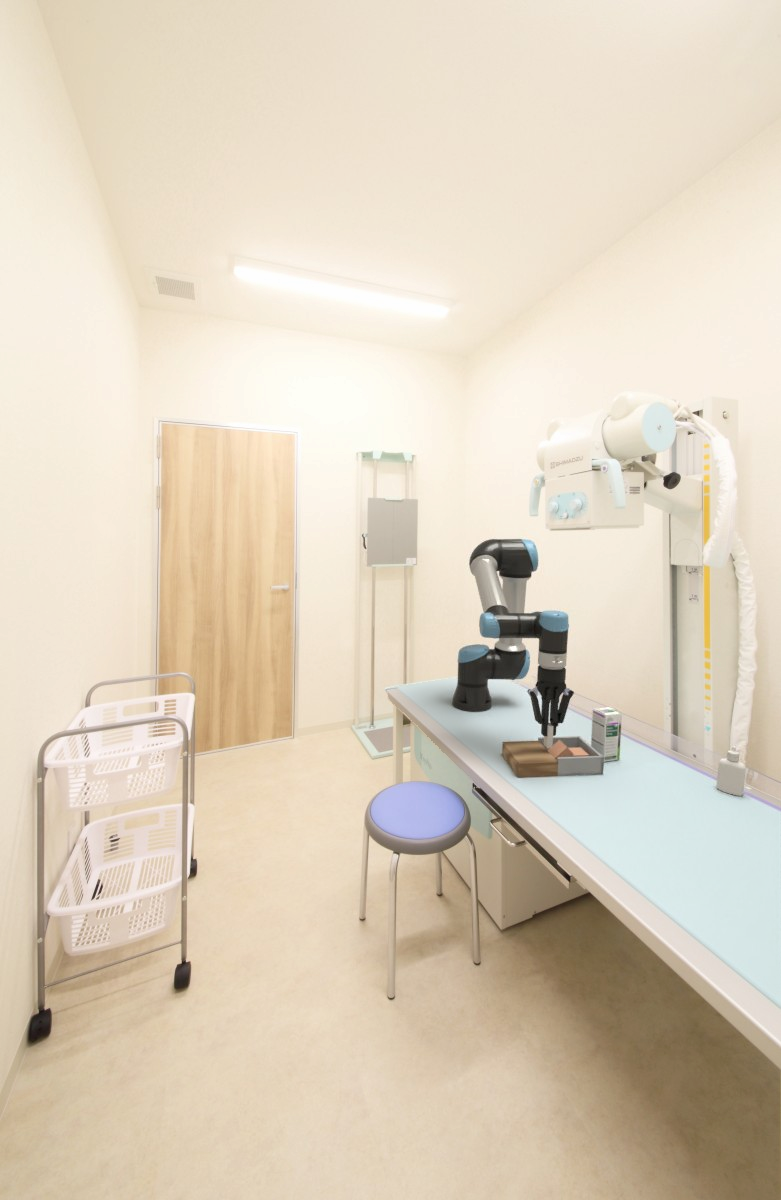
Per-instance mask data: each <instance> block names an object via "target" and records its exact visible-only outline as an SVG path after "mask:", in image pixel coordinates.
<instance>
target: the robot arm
mask: <svg viewBox="0 0 781 1200" xmlns="http://www.w3.org/2000/svg"><path fill="white" fill-rule="evenodd" d="M468 566H469V571H470V573H471V574H472V575H473V576H474V578H475V582H476V586H477V591H478V594H479V595H478V596H479V599H480V603H481V607H482V611H483V613H481V614H480V616H479V620H478V623H479V624H478V626H479V634H480V635H481V637H483V638H488V639H498V640H497V641H496V642H495V643H494V646H493V647H494V648H490V647H489V646H488V645H487V644H479V643H478V644H470V645H465V646H463V647H461V648H460V649H459V651H458V655H457V656H458V657H457V685H456V688H455V691H454V694H453V697H452V705H453V707H455V708H457V709H459V710H461V711H462V710H463V711H467V712H483V711H487V710H490V709H491V708H492V705H493V704H492V703H493V699H492V696H491V693H490V689H489V686H488V685H489V684H488V682H489V680H511V681H514V680H522V679H524V678H526V677H527V675H528V673H529V671H530V664H531V659H530V658H531V656H530V655H531V654H530V652H529V650H528V649H527V647H526V645H525V644H524V643H523V639H538V655H537V657H538V658H537V664H538V665H537V675H536V677H537V678H536V679H537V680H536V683H535V687H534V688H531V689H527V691H526V692H527V693H528V695H529V697H530V700H531V701H530V702H531V705H532V711H533V716H534V720H535V722H536V723H538V724H540V725H541V730H540V733H541V735H542V737H544V745H545V746H546V748H552V746H553V737H556V735H557V727H558V726H559V724H564V721H565V718H566V714H567V711H568V708H569V704H570V701H571V699H572V697H573V696H574V694H575V692H574V691H573V689H571V688H568V687H567V683H566V677H567V676H566V672H567V668H566V667H567V657H568V656H567V654H568V653H567V652H568V638H569V637H568V636H569V627H570V623H569V614H568V613H567V612H565V611H560V610H543V611H540V610H539V611H538V610H535V611H533V612H525V609H526V608H525V607H526V596H527V595H526V593H527V583H528V581H529V580H530V579H531V578H532V573H535V572H536V571H537V570H538V567H539V554H538V549H537V546H536V544H535V542H534V541H532V540H531V539H523V538H504V539H503V538H502V539H501V538H500V539H498V538H491V539H490V538H489V539H488V540H487V539H486V540H484V541H482V542H481V543H479V544H478V545H477V546H476V547H475V548H474V549H473V551H472V552H471V554H470V557H469V564H468ZM499 577H500V578H501V580H502V585H501V582H500V578H499ZM538 693H539V694H538ZM538 695H540V696H541V697H540V698H541V699H540V700H541V708H540V701H539V699H538ZM560 697H561V698H560Z"/></svg>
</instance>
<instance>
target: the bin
mask: <svg viewBox="0 0 781 1200" xmlns="http://www.w3.org/2000/svg"><path fill="white" fill-rule="evenodd" d="M559 740H560V741H561V742H562V743H564V744H565V745H566V746H567V747H568V748H578V747H581V748H582V749H583V750H584V751H585V752H586V753H587V754H589V756H582V757H557V761H558V776H557V777H568V776H590V775H591V776H593V775H595V776H597V775H603V774H604V767H605V766H604V765H605V764H604V763H605V762H604V756H602V755H601V754H600V753H599V752H598V751H596V750H595V749H594V748H593V747H592V746H591V744H589V742H587V741H586V740H585V739H584V738H583V737H582V736H580V735H574V736H573V735H571V736H570V735H569V736H553V745H554V744H555V743H556V742H557V741H559ZM537 741H539V742H540V743H541V744H542V745H543V746H544V747H545V749H546V750H547V751H548V750H549V749H550V748H546V746H545V745H544V736H542V737H541V736H540V737H537Z"/></svg>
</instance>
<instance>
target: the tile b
mask: <svg viewBox="0 0 781 1200" xmlns="http://www.w3.org/2000/svg"><path fill="white" fill-rule="evenodd" d="M569 750H570V751H571V752H572V753H573V755H572V756H571V757H582V756H589V754H587V753H586V752H585V751H584V750H583V749H582V748H581V747H578V748H569Z"/></svg>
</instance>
